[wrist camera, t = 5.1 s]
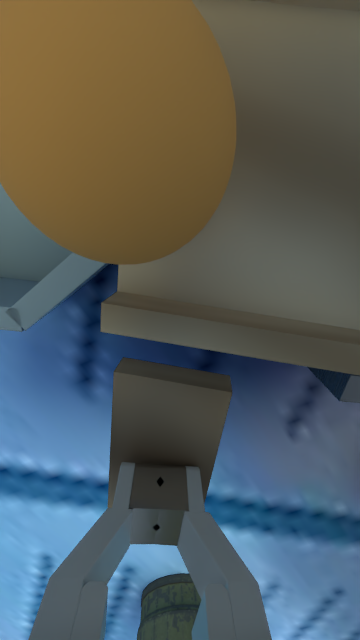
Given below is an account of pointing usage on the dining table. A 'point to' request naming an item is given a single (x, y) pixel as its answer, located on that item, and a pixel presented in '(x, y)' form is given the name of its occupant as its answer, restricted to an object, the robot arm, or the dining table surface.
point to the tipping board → (254, 236)
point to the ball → (114, 123)
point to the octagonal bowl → (34, 270)
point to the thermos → (169, 609)
